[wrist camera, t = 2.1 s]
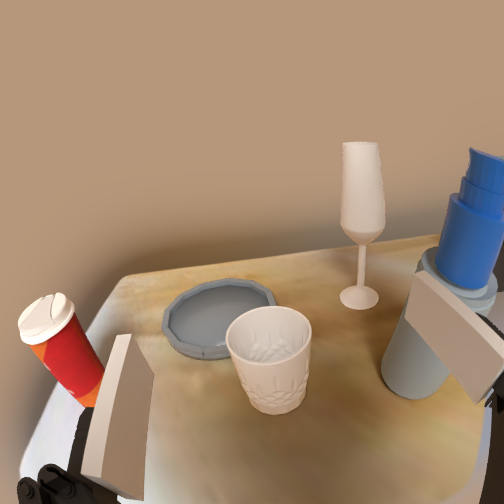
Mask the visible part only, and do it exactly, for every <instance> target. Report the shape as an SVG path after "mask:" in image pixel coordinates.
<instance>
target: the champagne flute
mask: <svg viewBox="0 0 504 504" xmlns="http://www.w3.org/2000/svg"><path fill="white" fill-rule="evenodd" d="M342 166H343V167H342V195H341V213H340V224H341V227H342V228H343V230H344V232H345V233H346V234H347V235H348V236H349V237H350V238H351V239H352V240H354V242H356V243H358V244H359V253H358V275H357V285H355V286H350V287H347V288H346V289H344V290H343V291H342V292H341V294H340V300H341V302H342V303H343V304H344V305H345V306H346V307H348V308H351V309H355V310H365V309H369V308H372V307H373V306H375V305H376V304H377V302H378V300H379V296H378V294H377V292H376V291H375V290H374V289H372V288H370V287H367V286H364V278H365V264H366V244H368V243H370V242H372V241H373V240H374V239H376V238H377V237H378V236H379V235H380V234H381V233H382V231H383V230H384V228H385V225H386V213H385V200H384V188H383V178H382V170H381V162H380V155H379V148H378V144H377V143H372V142H348V143H343V164H342Z"/></svg>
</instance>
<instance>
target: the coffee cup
mask: <svg viewBox="0 0 504 504" xmlns="http://www.w3.org/2000/svg"><path fill="white" fill-rule="evenodd" d="M18 327H19V330H20V336H21V339H22V340H23V342H25V343H27V344H28V345H29V346H30V347H31V348H32V350H33V351H34V352H35V354H36V355H37V356H38V357H39V359H40V360H41V361H42V362H43V364H44V365H45V366H46V367H47V369H48V370H49V371H50V372H51V373H52V374H53V375H54V377H55V378H56V379H57V380H58V381H59V382H60V383H61V384H62V385H63V386H64V388H65V389H66V390H67V391H68V392H69V393H70V394H71V395H72V396H73V397H74V398H75V399H76V400H77V401H78V402H79V403H81V404H82V405H83V406H84V407H85V408H86V407H95V404H96V400H97V396H98V393H99V389H100V386H101V382H102V379H103V376H104V372H105V369H104V367H103V365H102V364H101V362H100V360H99V358H98V357H97V355H96V353H95V351H94V350H93V348H92V346H91V344H90V342H89V340H88V338H87V337H86V335H85V333H84V331H83V329H82V327H81V325H80V323H79V321H78V319H77V316H76V314H75V312H74V304H73V303H72V302H71V301H70V300H68V299H67V298H66V296H65V295H63V294H61V293H56V295H54V294H52V295H48V296H46V298H44V297H42V298H40V299H38V300H36V301H35V302H34V303H32V304H31V305H30V306H29V307H27V308H26V309H25V311H24V312H23V313H22V315H21V316H20V318H19V321H18Z"/></svg>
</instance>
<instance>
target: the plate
mask: <svg viewBox="0 0 504 504" xmlns="http://www.w3.org/2000/svg"><path fill="white" fill-rule="evenodd" d="M265 306H277V305H276V302H275V300H274V297H273V294H272V292H271V290H270V289H268V288H266V287H264V286H262V285H260V284H259V283H257V282H255V281H252V280H244V279H233V278H229V279H228V278H226V279H221V280H216V281H211V282H205V283H202V284H200V285H198V286H196V287H194V288H192V289H190V290H188V291H185V292H183V293H181V295H179V296H178V297H177V298H176V299H175V300H174V301H173V302H172V303H171V304H170V305H169V306H168V307H167V308H166V309H165V311H164V316H163V322H162V327H161V329H162V331H163V333H164V335H165V336H166V337H167V339H168V341H169V343H170V344H171V346H172V347H173V348H174V349H175V350H176V351H178V352H179V353H181V354H183V355H185V356H187V357H190V358H194V359H198V360H221V359H227V358H231V356H230V353H229V350H228V348H227V345H226V332H227V330H228V328H229V326H230V325H231V323H232V322H233V321H234V320H235V319H236V318H238V317H239V316H240V315H242V314H244V313H246V312H248V311H250V310H253V309H256V308H260V307H265Z"/></svg>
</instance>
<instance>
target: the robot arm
mask: <svg viewBox="0 0 504 504" xmlns="http://www.w3.org/2000/svg"><path fill="white" fill-rule="evenodd" d="M495 157H498V158H500V159H502V160H503V161H504V156H495ZM503 211H504V210H503ZM492 272H493V274H494V276H495V277H496V279H497V284H498V289H497V292H502V291H504V241H503V244H502V247H501V249H500V252H499V255H498V258H497V261H496V263H495V266H494V268H493V271H492ZM404 318H405V319H406V320H407V321H408V322H409V323H410V325H411V326H412V327H413V328H414V329H415V330H416V331H417V332H418V334H419V335H420V336H421V337H422V338H423V339H424V341H425V342H426V343H427V344H428V345H429V346H430V348H431V349H432V350H433V351H434V352H435V354H436V355H437V356H438V357H439V358H440V360H441V361H442V362H443V363H444V365H445V366H446V367H447V368H448V370H449V371H450V372H451V373H452V375H453V376H454V377H455V378H456V380H457V381H458V382H459V384H460V385H461V386H462V387H463V389H464V390H465V391H466V393H467V394H468V395H469V397H470V398H471V399H472V401H473V402H474V404H475V405H476V404H477V403H478V402H480V401H481V400H482V399H483V398H485V397H486V396H487V394H488V393H489V391H490V390H491V388H493V389H494V392H493V393H492V394H491V396H490V397H489V398H488V400H487V401H486V403H485V406H484V407H487V405H488V404H489V403H490V402H491V401H492V402H491V404H490V406H489V407H492V423H491V438H490V448H489V457H488V463H487V470H486V475H485V480H484V486H483V490H482V494H481V498H480V502H479V504H504V334H503V333H502V332H501V331H500V330H498V328H496V326H495V325H493V324H492V322H490V321H489V320H488V319H487V318H486V317H485V316H483V315H481V314H479V313H477V312H476V313H474V312H473V311H472V310H471V309H470V308H469V307H468V306H467V305H465V304H464V303H463V302H462V301H461V300H460V299H459V298H457V297H456V296H455V295H454V294H453V293H452V292H450V291H449V290H448V289H447V288H446V287H444V286H443V285H442V284H441V283H440V282H438V281H437V280H436V279H435V278H433V277H432V276H431V275H430V274H429V273H427V272H426V271H425V270H423V271H420V272H417V273H414V274H413V279H412V284H411V289H410V294H409V299H408V304H407V308H406V312H405V317H404ZM153 379H154V373H153V372H152V370H151V368H150V367H149V365H148V363H147V361H146V359H145V358H144V356H143V354H142V352H141V350H140V348H139V347H138V345H137V343H136V341H135V339H134V337H133V335H132V334H124V335H117V336H116V339H115V342H114V345H113V348H112V351H111V354H110V357H109V360H108V363H107V366H106V369H105V372H104V376H103V379H102V382H101V386H100V389H99V393H98V396H97V400H96V404H95V407H86V408H85V410H84V411H83V412H82V414H81V415H80V417H79V421H78V425H77V430H76V432H75V436H74V437H75V439H74V441H73V445H72V449H71V454H70V459H69V464H68V469H67V472H66V471H65V470H63V469H62V468H60V467H59V466H57V465H56V464H47V465H44V466H43V467H42V468H41V469H40V471H39V473H38V478H37V481H38V482H36V481H35V480H33V479H31V478H30V477H24V478H22V479H21V480H20V481H19V482H18V486H17V494H18V500H19V504H121V503H120V502H119V501H118V500H117V495H119V496H121V497H123V498H125V499H133V500H141V501H144V473H145V455H146V442H147V431H148V420H149V411H150V402H151V394H152V387H153Z"/></svg>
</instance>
